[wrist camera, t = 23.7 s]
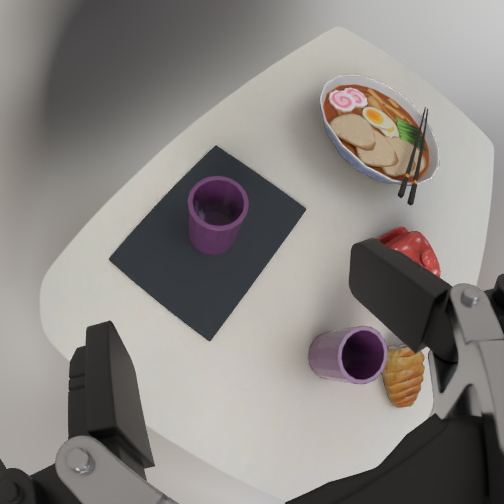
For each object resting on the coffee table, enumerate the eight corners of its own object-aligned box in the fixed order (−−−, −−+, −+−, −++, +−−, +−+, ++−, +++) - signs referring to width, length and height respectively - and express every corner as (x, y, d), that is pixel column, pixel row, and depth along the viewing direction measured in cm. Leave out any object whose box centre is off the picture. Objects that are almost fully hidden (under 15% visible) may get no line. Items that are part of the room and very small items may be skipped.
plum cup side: (314, 385, 36) (345, 392, 28) (302, 339, 38) (331, 336, 30) (356, 369, 38) (392, 371, 30) (344, 326, 39) (379, 318, 31)
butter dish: (432, 287, 44) (469, 274, 36) (387, 325, 40) (425, 318, 32) (399, 226, 46) (432, 204, 38) (349, 255, 43) (381, 234, 35)
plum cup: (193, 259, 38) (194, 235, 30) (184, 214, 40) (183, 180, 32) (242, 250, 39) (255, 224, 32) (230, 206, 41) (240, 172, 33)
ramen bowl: (333, 81, 54) (349, 52, 47) (425, 145, 54) (448, 123, 46) (276, 155, 45) (292, 120, 38) (398, 238, 45) (430, 218, 38)
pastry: (417, 399, 38) (433, 401, 34) (381, 412, 37) (397, 415, 33) (412, 340, 41) (428, 338, 37) (376, 349, 39) (391, 348, 36)
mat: (209, 341, 36) (210, 341, 35) (109, 260, 36) (108, 259, 36) (305, 210, 43) (306, 209, 43) (215, 146, 44) (215, 145, 44)
